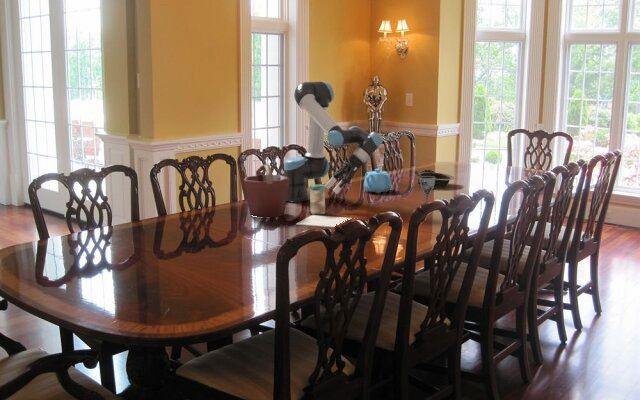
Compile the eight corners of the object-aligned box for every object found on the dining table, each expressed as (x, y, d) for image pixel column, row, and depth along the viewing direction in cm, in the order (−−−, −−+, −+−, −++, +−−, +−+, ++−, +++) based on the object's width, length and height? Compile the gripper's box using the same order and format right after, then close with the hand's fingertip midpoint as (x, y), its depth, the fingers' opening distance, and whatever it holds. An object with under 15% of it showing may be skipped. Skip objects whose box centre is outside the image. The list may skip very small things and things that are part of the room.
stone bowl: (407, 183, 428) (408, 169, 426) (444, 184, 434) (445, 170, 432) (422, 189, 404) (424, 174, 402) (461, 190, 410) (463, 175, 409)
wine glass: (434, 206, 356) (434, 178, 354) (418, 206, 358) (419, 178, 355) (434, 204, 364) (435, 176, 361) (419, 203, 366) (420, 175, 363)
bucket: (248, 210, 354) (246, 162, 349) (290, 209, 354) (289, 161, 349) (243, 220, 330) (241, 169, 325) (289, 219, 330) (288, 168, 325)
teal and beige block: (313, 214, 341) (313, 186, 339) (310, 212, 347) (310, 184, 344) (325, 213, 343) (324, 186, 340) (321, 211, 349) (321, 184, 346)
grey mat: (296, 224, 319) (296, 223, 319) (311, 215, 338) (311, 215, 338) (344, 228, 311) (344, 227, 311) (358, 219, 329) (358, 218, 329)
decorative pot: (364, 189, 411) (364, 167, 409) (391, 189, 409) (391, 166, 407) (363, 194, 395) (363, 171, 393) (391, 194, 393) (391, 171, 391)
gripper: (372, 166, 334) (343, 198, 333) (355, 160, 358) (328, 190, 356) (361, 156, 332) (332, 188, 330) (345, 150, 355) (318, 181, 354)
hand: (330, 189), depth 343 cm, fingers open, 13 cm apart
